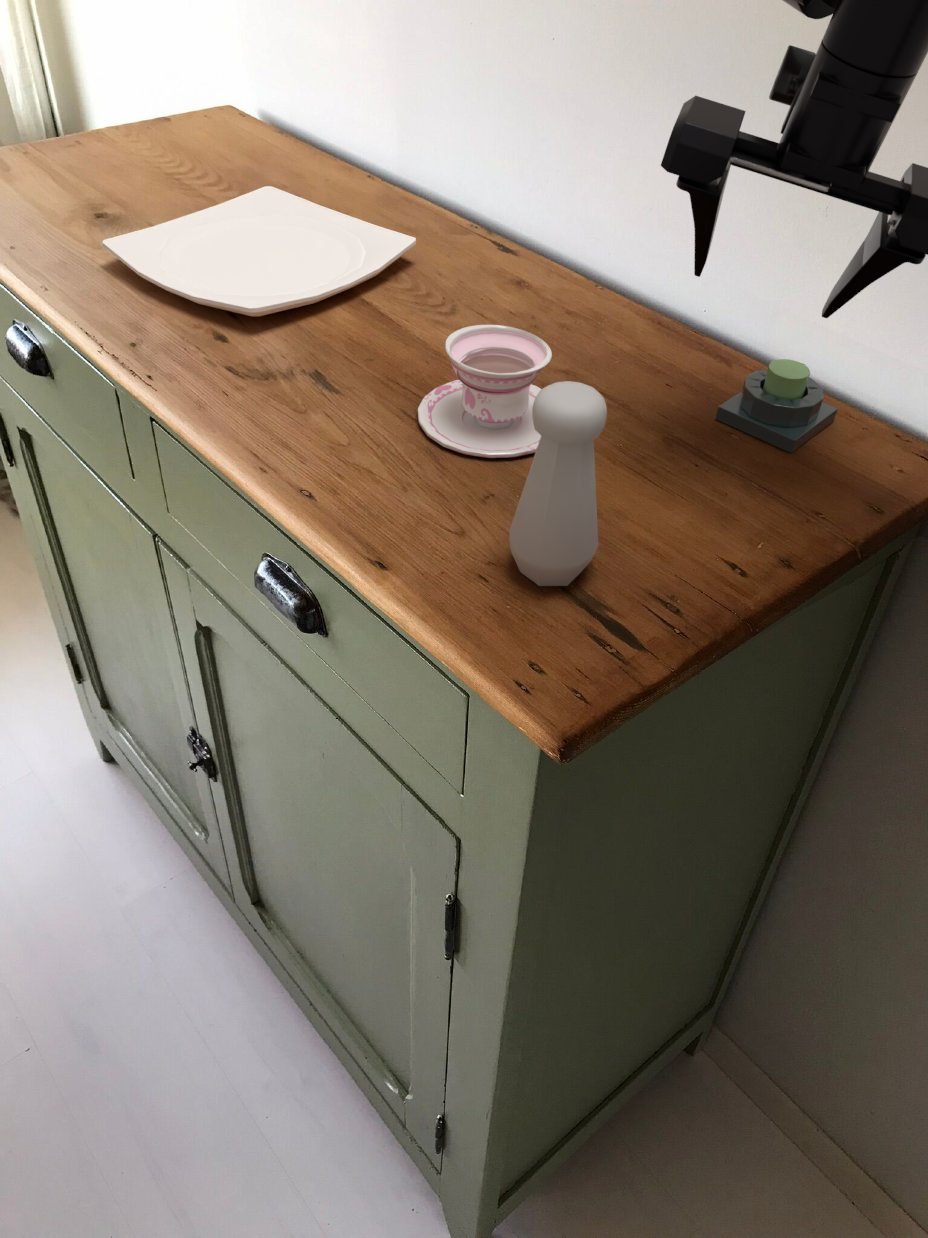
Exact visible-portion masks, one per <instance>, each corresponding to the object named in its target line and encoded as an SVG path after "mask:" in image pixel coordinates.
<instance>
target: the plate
mask: <svg viewBox="0 0 928 1238" xmlns="http://www.w3.org/2000/svg"><path fill="white" fill-rule="evenodd" d="M101 243H102V247H103V248H104V249H106V250H107V251H108V252H109V253H110V254H112V255H113V256H114V257H115V258H117V259H118V261H121V262H122V263H123V264H124V265H125V266H127V267H128V268H129V269H130V270H132V271H133V272H134V273H136V275H138V276H139V277H140V278H142V279H144V280H146V281H148V282H150V283H152V285H155V286H157V287H159V288H160V289H163V290H165V291H167V292H169V293H172V294H174V295H177V296H179V297H181V298H184V299H186V300H189V301H191V302H193V303H196V304H198V305H203V306H207V307H211V308H215V309H220V310H224V311H228V312H232V313H237V314H239V315H240V314H241V315H245V316H248V317H249V316H250V317H263V316H266V315H270V314H275V313H278V312H282V311H283V312H284V311H288V310H291V309H295V308H299V307H303V306H304V307H305V306H307V305H312V304H316V303H318V302H320V301H323V300H325V299H328V298H331V297H333V296H335V295H337V294H340V293H342V292H344V291H347V290H350V289H352V288H354V287H357V286H358V285H360V284H362V283H364V282H367V281H368V280H370V279H372V278H374V277H376V276H377V275H379V274H381V272H383V271H385V269H387V268H388V267H390V265H392V264H393V263H394V262H396V261H397V260H399V259H400V258H401V257H402V256H403V255H405V254H406V253H408V252H409V251H410V250H411V249H413V247H414V246H416V245H417V239H416V236H415V237H414V236H411V235H408V234H405V233H402V232H399V231H395V230H392V229H389V228H386V227H383V226H380V225H376V224H373V223H370V222H367V221H365V220H363V219H359V218H357V217H354V216H351V215H348V214H346V213H343V212H340V211H337V210H335V209H331V208H328V207H326V206H322V205H320V204H318V203H316V202H312V201H310V200H308V199H305V198H303V197H300V196H299V195H296V194H292V193H290V192H287V191H285V190H283V189H280V188H277V187H275V186H272V185H265V186H263V187H260V188H258V189H255V190H252V191H250V192H247V193H244V194H242V195H239V196H236V197H235V198H232V199H228V200H226V201H224V202H221V203H218V204H215V205H213V206H210V207H206V208H204V209H201V210H198V211H195V212H191V213H189V214H185V215H183V216H180V217H177V218H174V219H171V220H168V221H165V222H162V223H159V224H155V225H153V226H149V227H146V228H142V229H138V230H135V231H131V232H128V233H124V234H121V235H117V236H113V237H109V238H106V239H103V240H102V242H101Z"/></svg>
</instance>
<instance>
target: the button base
mask: <svg viewBox="0 0 928 1238" xmlns="http://www.w3.org/2000/svg"><path fill="white" fill-rule="evenodd" d="M767 370H768V368H767V369H760V370H755V371H753V372H752V373H750V374H749V375H747V376H746V377H745V378H744V382H743V386H742V391H740V392H738V393H737V394H735V395H734V396H732V397H731V398H729V399H728V400H725V402H723V403H721V404H720V405H718V406H717V411H716V414H715V420H717V421H718V422H721V423H723V424H725V425H728V426H730V427H732V428H734V429H735V430H739V431H741V432H743V433H745V434H747V435H749V436H752V437H754V438H756V439H759V440H761V441H763V442H765V443H768V444H769V445H772V446H774V447H776V448H778V449H781V450H782V451H785V452H787V453H789V454H792V453H793V452H795V451H796V450H797V449H799V448H801V446H803V445H804V444H806V443H807V442H808V441H809V440H810V439H812V438H813V437H815V436H816V435H817V434H819V433H820V432H821V431H823V430H824V429H825V428H826V427H828V426H830V425H831V424H832V423H833V422H834V421H835V418H836V415H837V413H838V410H839V409H838V407H835V406H833V405H830V404H829V403H826V402H823V401H824V388H823V387H822V386H821V385H820V384H818V382H816V381H815V380H814V379H813V378H811V377H809V379H808V382H807V385H806V388H805V392H804V395H803V397H802V398H801V399H796V400H786V399H779V398H776V397H774V396H771V395H769V394H766V393H765V392H764V391H763V385H764V381H765V378H766V374H767Z"/></svg>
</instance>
